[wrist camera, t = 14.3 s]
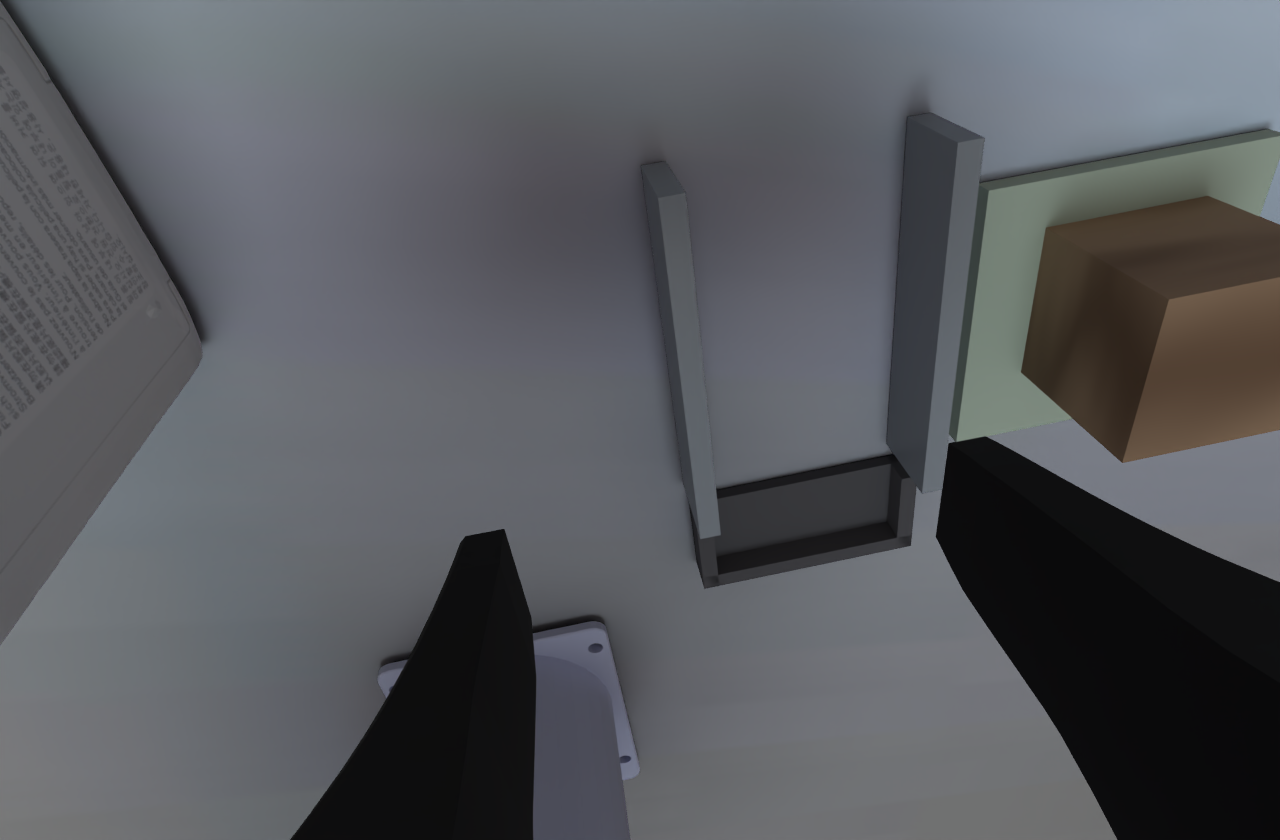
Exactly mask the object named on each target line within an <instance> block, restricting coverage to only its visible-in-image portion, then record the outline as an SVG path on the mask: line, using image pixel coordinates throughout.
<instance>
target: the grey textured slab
mask: <svg viewBox="0 0 1280 840" xmlns="http://www.w3.org/2000/svg"><path fill="white" fill-rule="evenodd" d="M201 359H202V346H201V342H200V339H199V336H198V333H197V331H196V328H195V326H194V323H193V321H192V319H191V316H190V314H189V312H188V310H187V307H186V305H185V303H184V301H183V299H182V298H181V296H180V294H179V292H178V290H177V289H176V287H175V285H174V283H173V282H172V280H171V278H170V277H169V275H168V273H167V271H166V270H165V268H164V266H163V265H162V263H161V261H160V259H159V257H158V255H157V253H156V252H155V250H154V248H153V247H152V245H151V243H150V242H149V240H148V239H147V237H146V235H145V234H144V232H143V231H142V229H141V227H140V225H139V224H138V222H137V220H136V218H135V217H134V215H133V213H132V211H131V210H130V208H129V206H128V205H127V203H126V201H125V200H124V198H123V196H122V195H121V193H120V192H119V190H118V188H117V187H116V185H115V183H114V182H113V180H112V178H111V177H110V175H109V173H108V172H107V170H106V168H105V167H104V165H103V163H102V162H101V160H100V158H99V157H98V155H97V153H96V152H95V150H94V149H93V147H92V145H91V144H90V142H89V140H88V139H87V137H86V136H85V134H84V132H83V131H82V129H81V128H80V126H79V124H78V123H77V121H76V120H75V118H74V116H73V114H72V113H71V111H70V109H69V108H68V106H67V104H66V103H65V101H64V99H63V98H62V96H61V95H60V93H59V91H58V90H57V88H56V87H55V85H54V84H53V82H52V81H51V79H50V77H49V75H48V73H47V71H46V69H45V68H44V66H43V65H42V63H41V62H40V60H39V59H38V57H37V56H36V54H35V53H34V51H33V50H32V48H31V47H30V45H29V44H28V42H27V41H26V39H25V38H24V36H23V35H22V33H21V32H20V30H19V29H18V27H17V26H16V24H15V22H14V21H13V19H12V18H11V16H10V15H9V13H8V12H7V10H6V9H5V7H4V6H3V4H2V3H1V1H0V645H1V644H2V642H3V641H4V639H5V638H6V637H7V635H8V634H9V633H10V631H11V630H12V628H13V627H14V626H15V624H16V623H17V621H18V620H19V618H20V617H21V615H22V614H23V613H24V611H25V610H26V608H27V607H28V606H29V604H30V603H31V601H32V600H33V598H34V597H35V595H36V594H37V592H38V591H39V590H40V588H41V587H42V586H43V585H44V583H45V582H46V581H47V579H48V578H49V576H50V575H51V573H52V572H53V571H54V569H55V568H56V567H57V565H58V563H59V562H60V560H61V559H62V558H63V556H64V555H65V554H66V552H67V550H68V549H69V547H70V546H71V545H72V543H73V542H74V540H75V539H76V538H77V536H78V535H79V534H80V532H81V531H82V529H83V528H84V527H85V525H86V523H87V521H88V520H89V519H90V517H91V516H92V515H93V514H94V512H95V511H96V509H97V508H98V506H99V505H100V504H101V502H102V501H103V499H104V498H105V496H106V495H107V494H108V492H109V491H110V489H111V488H112V487H113V485H114V484H115V483H116V481H117V480H118V478H119V477H120V476H121V474H122V473H123V471H124V470H125V468H126V467H127V465H128V464H129V463H130V461H131V460H132V458H133V457H134V456H135V454H136V453H137V452H138V450H139V449H140V448H141V446H142V445H143V443H144V442H145V440H146V439H147V437H148V436H149V435H150V433H151V432H152V430H153V429H154V427H155V426H156V424H157V423H158V422H159V421H160V420H161V418H162V416H163V415H164V414H165V413H166V411H167V410H168V408H169V407H170V406H171V405H172V403H173V401H174V400H175V399H176V398H177V396H178V395H179V393H180V392H181V390H182V389H183V387H184V386H185V385H186V383H187V382H188V381H189V379H190V378H191V376H192V375H193V373H194V372H195V370H196V369H197V367H198V366H199V363H200V361H201Z"/></svg>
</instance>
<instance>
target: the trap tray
mask: <svg viewBox="0 0 1280 840" xmlns="http://www.w3.org/2000/svg"><path fill="white" fill-rule="evenodd" d="M716 493H717V503H718V512H719V522H720V532H721V535H718V536H713V537H709V538H704V539H700V536H699V533H698V530H697V527H696V523H695V520H694V517H693V514H692V511H691V507H690V514H691V521H692V529H693V537H694V544H695V552H696V560H697V565H698V568H699V572H700V575H701V578H702V582H703V585H704V589H706V588H710V587H715V586H720V585H725V584H730V583H734V582H739V581H744V580H749V579H754V578H758V577H763V576H768V575H773V574H777V573H782V572H787V571H792V570H797V569H801V568H806V567H811V566H816V565H821V564H825V563H830V562H835V561H840V560H845V559H849V558H854V557H859V556H864V555H869V554H873V553H878V552H883V551H888V550H893V549H897V548H902V547H907V546H911V538H912V527H913V517H914V507H915V496H916V484H915V483H914V482H913V480H912V479H911V477H910V476H909V475H908V473H907V472H906V470H905V469H904V468H903V466H902V465H901V463H900V462H899V461H898V459H897V458H896V456H895V455H890V456H885V457H880V458H875V459H870V460H865V461H860V462H855V463H850V464H845V465H840V466H836V467H831V468H826V469H821V470H816V471H811V472H806V473H801V474H796V475H791V476H786V477H781V478H776V479H771V480H766V481H762V482H757V483H752V484H747V485H742V486H737V487H732V488H727V489H722V490H717V491H716ZM689 506H690V504H689Z"/></svg>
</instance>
